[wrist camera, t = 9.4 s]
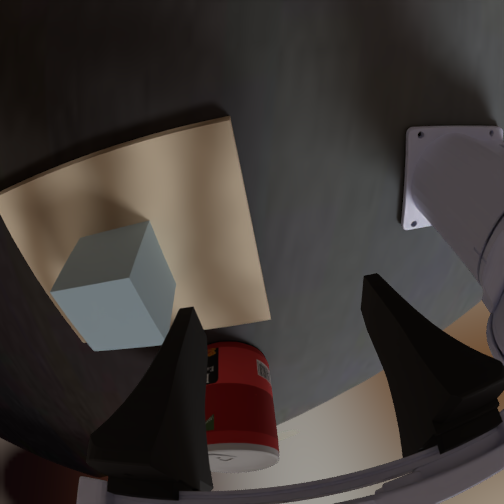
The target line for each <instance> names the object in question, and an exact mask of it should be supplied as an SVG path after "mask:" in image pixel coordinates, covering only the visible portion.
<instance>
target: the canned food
mask: <svg viewBox="0 0 504 504" xmlns="http://www.w3.org/2000/svg"><path fill="white" fill-rule="evenodd" d="M207 349H208V364H207V379H206V394H205V421H206V435H207V447H208V455H209V464H210V470H211V471H213V472H224V473H240V472H250V471H257V470H262V469H265V468H268V467H271V466H273V465H275V464H276V463H278V461H279V446H278V436H277V429H276V420H275V412H274V404H273V396H272V388H271V380H270V372H269V365H268V363H267V360H266V358H265V356H264V355H263V354H262V352H261V351H259V350H258V349H257V348H255V347H253V346H251V345H247V344H244V343H239V342H230V341H227V342H217V343H212V344H209V345H207Z"/></svg>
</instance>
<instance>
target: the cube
mask: <svg viewBox="0 0 504 504" xmlns="http://www.w3.org/2000/svg"><path fill="white" fill-rule="evenodd" d="M175 289H176V282H175V280H174V278H173V276H172V273H171V271H170V269H169V266H168V264H167V262H166V259H165V257H164V255H163V252H162V250H161V248H160V245H159V243H158V240H157V238H156V235H155V233H154V230H153V228H152V225H151V223H150V220H149V221H145V222H141V223H137V224H133V225H128V226H124V227H120V228H116V229H112V230H108V231H104V232H101V233H97V234H93V235H89V236H85V237H81V238H80V239H79V241H78V242H77V244H76V246H75V247H74V249H73V251H72V252H71V254H70V256H69V258H68V259H67V261H66V263H65V265H64V267H63V268H62V270H61V272H60V274H59V276H58V278H57V279H56V281H55V283H54V285H53V287H52V289H51V291H50V293H51V295H52V296H53V298H54V299H55V301H56V302H57V303H58V305H59V306H60V308H61V309H62V310H63V312H64V313H65V315H66V316H67V317H68V319H69V320H70V321H71V323H72V324H73V325H74V327H75V328H76V329H77V330H78V332H79V333H80V334H81V336H82V337H83V338H84V339H85V341H86V342H87V343H88V344H89V346H90V347H91V348H92V349H93V350H94V351H103V350H116V349H127V348H138V347H148V346H158V345H162V344H163V342H164V340H165V338H166V336H167V334H168V332H169V329H170V322H171V315H172V308H173V301H174V295H175Z"/></svg>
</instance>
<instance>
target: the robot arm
mask: <svg viewBox="0 0 504 504" xmlns="http://www.w3.org/2000/svg"><path fill="white" fill-rule="evenodd" d="M490 131H491V132H490ZM419 132H421V135H420V136H419V137H418V133H419ZM489 133H490V134H489ZM502 138H503V130H502V128H500V127H498V126H419V127H410V128H409V129H408V130H407V132H406V159H405V180H404V195H403V207H402V218H401V226H402V228H403V229H404V230H411V229H416V228H421V227H427V226H433V227H434V228H435V229H436V230H437V232H438V233H439V234H440V235H441V236H442V237H443V239H444V240H445V241H446V242H447V243H448V245H449V246H450V247H451V248H452V249H453V251H454V252H455V253H456V254H457V256H458V257H459V258H460V259H461V261H462V262H463V263H464V264H465V266H466V267H467V268H468V269H469V271H470V272H471V273H472V275H473V276H474V277H475V279H476V280H477V281H478V283H479V284H480V285H481V286H482V288H483V297H482V301H483V303H484V304H485V306H486V307H487V309H488V310H489V312H490V313H491V314H490V317H489V319H488V323H487V332H486V334H487V342H488V345H489V348H490V351H491V353H492V355H493V357H494V358H492V357H490V356H487V355H485V354H482V353H480V352H478V351H476V350H474V349H472V348H470V347H468V346H467V345H465V344H463V343H461V342H460V341H458V340H456V339H455V338H453V337H451V336H450V335H448V334H447V333H445V332H444V331H442V330H441V329H439V328H438V327H437V326H435V325H434V324H433V323H431V322H430V321H429V320H428V319H426V318H425V317H424V316H423V315H421V314H420V313H419V312H418V311H417V310H416V309H414V308H413V307H412V306H411V305H410V304H409V303H408V302H407V301H406V300H405V299H403V298H402V297H401V296H400V295H399V294H398V293H397V292H396V291H395V290H394V289H393V288H392V287H391V286H390V285H389V284H388V283H387V282H386V281H385V280H384V279H383V278H382V277H381V276H380V275H379V274H377V273H376V274H371V275H366V276H364V280H363V291H362V302H361V311H362V315H363V318H364V322H365V325H366V328H367V331H368V333H369V336H370V338H371V340H372V343H373V345H374V347H375V350H376V352H377V354H378V357H379V359H380V361H381V364H382V366H383V369H384V371H385V374H386V377H387V380H388V384H389V387H390V391H391V395H392V399H393V403H394V408H395V412H396V417H397V422H398V427H399V432H400V439H401V446H402V455H403V458H402V459H399V460H396V461H393V462H389V463H386V464H383V465H380V466H376V467H373V468H369V469H366V470H362V471H358V472H354V473H350V474H346V475H341V476H337V477H332V478H328V479H322V480H317V481H312V482H306V483H300V484H293V485H286V486H279V487H270V488H260V489H249V490H235V491H211V490H212V489H213V483H212V477H211V470H210V464H209V455H208V447H207V435H206V421H205V394H206V379H207V364H208V349H207V336H206V333H205V331H204V329H203V327H202V325H201V322H200V320H199V318H198V316H197V313H196V311H195V309H194V306H193V307H186V308H180V309H179V310H178V312H177V315H176V317H175V319H174V321H173V323H172V325H171V327H170V330H169V332H168V334H167V336H166V338H165V340H164V342H163V344H162V345H161V347H160V349H159V351H158V353H157V355H156V356H155V358H154V360H153V362H152V363H151V365H150V367H149V368H148V370H147V372H146V373H145V375H144V376H143V378H142V379H141V381H140V382H139V384H138V385H137V386H136V388H135V389H134V390H133V392H132V393H131V394H130V395H129V397H128V398H127V399H126V400H125V402H124V403H123V404H122V405H121V406H120V407H119V408H118V409H117V410H116V411H115V413H114V414H113V415H112V416H111V417H110V418H109V419H108V420H107V421H106V422H105V423H103V424H102V425H101V426H100V427H99V428H98V429H97V430H96V431H94V432H93V433H92V434H91V436H90V440H89V445H88V451H87V458H86V462H87V464H88V465H89V466H90V467H92V468H94V469H96V470H98V471H99V472H101V473H103V474H105V475H107V476H108V482H107V481H104V480H99V479H94V478H88V477H83V476H81V477H80V480H79V488H78V496H77V504H279V503H287V502H294V501H300V500H307V499H313V498H319V497H324V496H329V495H333V494H338V493H343V492H347V491H351V490H355V489H359V488H363V487H367V486H370V485H373V484H377V483H380V482H384V481H387V480H390V479H393V478H397V477H399V478H397V479H395V480H392V481H389V482H387V483H384V484H383V486H382V488H380V489H378V490H376V491H375V495H370V496H366V497H362V498H358V499H353V500H349V501H344V502H340V503H335V504H439V503H441V502H443V501H445V500H448V499H450V498H452V497H454V496H456V495H458V494H460V493H462V492H464V491H466V490H468V489H470V488H472V487H474V486H475V485H477V484H479V483H481V482H482V481H484V480H486V479H488V478H490V477H491V476H493V475H495V474H496V473H498V472H500V471H501V470H503V469H504V409H503V410H502V411H501V412H499V411H498V409H497V407H498V406H499V402H498V399H497V398H498V396H499V395H500V394H501V393H502V392H503V391H504V141H502ZM413 221H414V223H413V224H411V223H412V222H413ZM411 472H412V473H411ZM408 473H409V474H408ZM405 474H407V475H405ZM403 475H404V476H403ZM400 476H402V477H400Z"/></svg>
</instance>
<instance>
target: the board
mask: <svg viewBox="0 0 504 504" xmlns="http://www.w3.org/2000/svg"><path fill="white" fill-rule="evenodd" d="M0 214H1V216H2V218H3V220H4V222H5V224H6V226H7V228H8V230H9V232H10V234H11V235H12V237H13V239H14V241H15V243H16V244H17V246H18V248H19V250H20V251H21V253H22V255H23V256H24V258H25V260H26V261H27V263H28V265H29V266H30V268H31V270H32V271H33V273H34V274H35V276H36V278H37V279H38V281H39V282H40V284H41V285H42V287H43V288H44V290H45V291H46V293H47V294H48V296H49V297H50V299H51V300H52V301H53V303H54V304H55V306H56V307H57V309H58V310H59V311H60V313H61V314H62V315H63V317H64V318H65V320H66V321H67V322H68V324H69V325H70V326H71V328H72V329H73V330H74V331H75V333H76V334H77V335H78V337H79V338H80V339H81V340H82V342H83V343H85V342H86V341H85V339H84V338H83V337H82V336H81V334H80V333H79V332H78V330H77V329H76V328H75V327H74V325H73V324H72V323H71V321H70V320H69V319H68V317H67V316H66V315H65V313H64V312H63V310H62V309H61V308H60V306H59V305H58V303H57V302H56V301H55V299H54V298H53V296H52V295H51V293H50V291H51V289H52V287H53V285H54V283H55V281H56V279H57V278H58V276H59V274H60V272H61V270H62V268H63V267H64V265H65V263H66V261H67V259H68V258H69V256H70V254H71V252H72V251H73V249H74V247H75V246H76V244H77V242H78V241H79V239H80V238H81V237H85V236H89V235H93V234H97V233H101V232H104V231H108V230H112V229H116V228H120V227H124V226H128V225H133V224H137V223H141V222H145V221H149V220H150V223H151V225H152V228H153V230H154V233H155V235H156V238H157V240H158V243H159V245H160V248H161V250H162V252H163V255H164V257H165V259H166V262H167V264H168V266H169V269H170V271H171V273H172V276H173V278H174V280H175V282H176V289H175V295H174V301H173V308H172V315H171V322H170V327H171V325H172V323H173V321H174V319H175V317H176V315H177V312H178V310H179V309H180V308H186V307H193V306H194V309H195V311H196V313H197V316H198V318H199V320H200V322H201V325H202V327H203V329H204V330H207V329H214V328H220V327H227V326H234V325H240V324H246V323H252V322H258V321H264V320H270V319H271V317H270V310H269V305H268V300H267V295H266V290H265V285H264V280H263V275H262V270H261V265H260V260H259V255H258V250H257V245H256V240H255V235H254V230H253V225H252V220H251V216H250V211H249V206H248V201H247V196H246V191H245V186H244V181H243V176H242V172H241V167H240V162H239V157H238V152H237V147H236V143H235V138H234V133H233V128H232V123H231V119H230V116H226V117H221V118H217V119H212V120H207V121H203V122H198V123H194V124H190V125H186V126H182V127H178V128H174V129H170V130H166V131H162V132H159V133H155V134H151V135H148V136H144V137H141V138H138V139H134V140H131V141H128V142H125V143H121V144H118V145H115V146H112V147H109V148H106V149H103V150H100V151H97V152H94V153H91V154H89V155H86V156H83V157H80V158H78V159H75V160H72V161H70V162H67V163H64V164H62V165H59V166H57V167H54V168H52V169H49V170H47V171H45V172H42V173H40V174H37V175H35V176H33V177H31V178H28V179H26V180H24V181H22V182H19V183H17V184H15V185H13V186H11V187H9V188H7V189H4V190H2V191H1V192H0ZM169 330H170V329H169Z"/></svg>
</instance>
